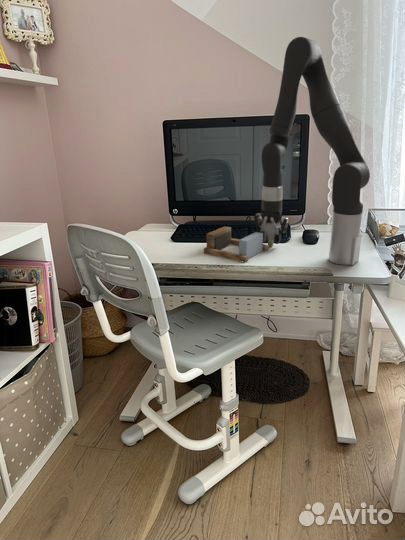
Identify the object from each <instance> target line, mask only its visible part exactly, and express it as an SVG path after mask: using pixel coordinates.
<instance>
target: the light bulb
mask: <svg viewBox="0 0 405 540" xmlns="http://www.w3.org/2000/svg"><path fill="white" fill-rule="evenodd" d="M277 226H278V225H277ZM264 232H265V234H266V239H267V245H268V247H270V248H271V247H274V242H275V235H276V232H275V229H274V228H273V224H272V223H266V225H265V226H264Z"/></svg>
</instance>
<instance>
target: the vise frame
mask: <svg viewBox="0 0 405 540" xmlns="http://www.w3.org/2000/svg"><path fill="white" fill-rule="evenodd" d="M239 240H240V239H238V238H232V227H231V226H222V227H219V228H217V229H216V230H213V231H210V232H208V233H206V247H203V254H204V255H205V254H206V255H209V256H214V257H217V258H223V259H227V260H232V261H236V260H237V262H240V261H243V262H242V263H245V262H246V263H248V262H249V259H248V256H245V255H240V254H239V253H236V252H230V251H226V250H223V249H225V248H228V247H230V246H237V247H239ZM268 248H269V246H268V244H265V243H263V249H262V251H261V252H267V251H268V250H269V249H268ZM247 261H248V262H247Z"/></svg>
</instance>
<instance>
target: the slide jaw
mask: <svg viewBox="0 0 405 540" xmlns="http://www.w3.org/2000/svg"><path fill="white" fill-rule="evenodd" d="M263 244H264V242H263V233H261V232H257V231H254V232H253V233H251V234H249V235H246V236H245V237H242V238H240V239H239V246H238V249H239V250H238V252H239V253H238V254H240V255H245V256H248V260H249V259H250V258H253V257H254V256H256V255H257V254H259V253H261V252H263V251H262V249H263Z"/></svg>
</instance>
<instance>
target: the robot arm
mask: <svg viewBox="0 0 405 540" xmlns="http://www.w3.org/2000/svg"><path fill="white" fill-rule="evenodd" d="M284 53H285V55H284V60H283V67H282V68H283V69H282V75H281V81H280V89H279V92H278V93H279V94H278V97H277V103H276V107H275V110H274V113H273V114H274V115H273V117H272V121H271V125H270V133H271V135H270V139H269V142H268V143H266V144H264V146H263V147H262V151H261V155H260V157H261V165H262V166H261V167H262V172H263V176H262V189H261V212H260V213H259V212H258V213H255V214H253V217H254V223H255V224H254V225H255V229H256V230H257V231H260V233H263V243H265V242H266V241H267V236H266V234H265V232H264V226H265V225H266V223H272V224H273V228H274V229H275V232H276V235H275V237H274V244H276V245H278V244H279V243H280V242H282V234H285V233H286V232H287V230H288V226H289V222H290V218H289V217H286V216H283V214H282V212H283V198H284V196H283V195H284V190H283V189H284V188H283V181H284V179H283V178H284V173H283V171H282V169H281V167H282V164H281V163H282V162H281V161H282V160H283V159H284V157H285V155H286V153H287V150H288V147H289V140H290V134H291V131H292V128H293V124H294V120H295V118H296V115H297V108H298V95H299V94H298V93H299V86H300V81H301V79H302V77H303V79H304V82H305V84H306V87H307V89H308V95H309V106H310V107H309V108H310V112H311V113H310V114H311V116H312V119H313V122H314V124H315V126H316V129H317V131H318V133H319V135H320V136H321V137H322V139H323V140H324V141H325V143H327V145H328V146H329V147H330V148H331V150H332V151H333V152H334V154H335V156H336V159H337V161H338V164H339V166H338V167H337V168H336V169H335V171H334V174H333V178H332V188H331V189H332V190H331V204H332V207H333V210H332V218H331V219H332V220H331V229H330V230H331V231H330V241H329V243H330V244H329V253H328V261H330V263H333V264H336V265H341V266H354V265H355V264H356V263H357V262H358V261H359V259H360V252H361V251H360V250H361V244H362V235H363V234H362V233H361V227H362V221H363V220H362V218H363V212H364V211H363V209H364V205H363V202H361V189H363V188H364V187H366V186H367V185H368V184H369V181H370V178H371V173H370V172H371V171H370V169H369V166H368V165H367V163H366V160H365V159H364V156H363V155H362V154H361V152H360V149H359V148H358V146H357V144H356V141H355V139H354V136H353V133H352V130H351V127H350V125H349V123H348V119H347V117H346V115H345V112H344V109H343V107H342V105H341V101H340V100H339V98H338V95H337V92H336V91H335V88H334V86H333V84H332V82H331V81H330V80H331V79H330V77H329V74H328V72H327V68H326V64H325V60H324V58H323V54H322V51H321V48H320V46H319V44H318V43H317V42H316V41H314V40H313V39H310V38H308V37H307V38H306V37H304V36H298V37H297V36H296V37H295V38H293V39H292V40H291V41H290V42H289V43H288V44H287V47H286V50H285V52H284ZM261 219H262V220H261ZM281 223H282V225H281ZM277 225H278V226H277Z"/></svg>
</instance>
